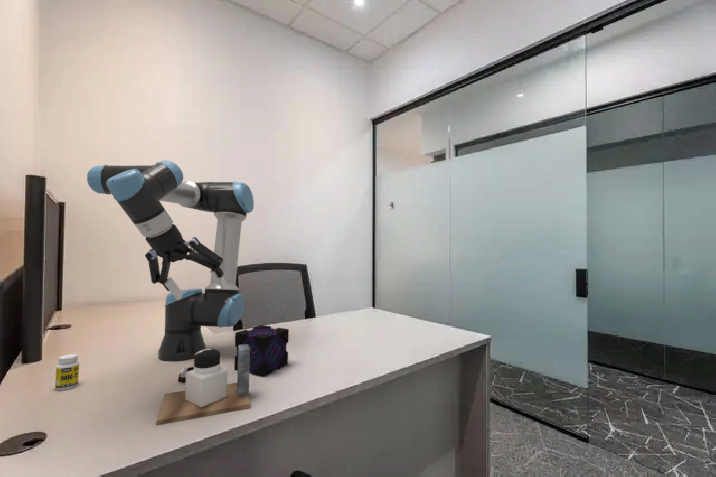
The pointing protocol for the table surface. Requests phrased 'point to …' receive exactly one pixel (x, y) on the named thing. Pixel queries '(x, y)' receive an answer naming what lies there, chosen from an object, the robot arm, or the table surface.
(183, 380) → the watch
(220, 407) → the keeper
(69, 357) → the supplement bottle
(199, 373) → the medicine bottle
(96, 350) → the table surface
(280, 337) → the energy cube
